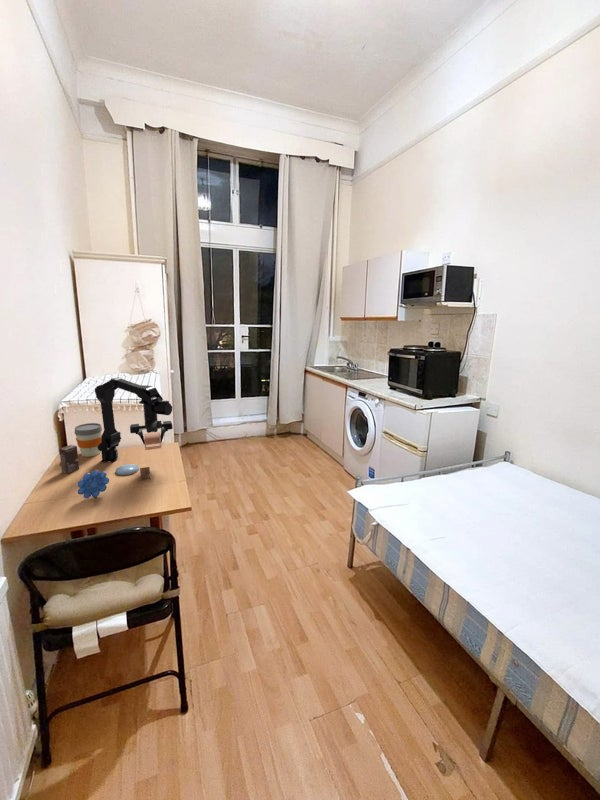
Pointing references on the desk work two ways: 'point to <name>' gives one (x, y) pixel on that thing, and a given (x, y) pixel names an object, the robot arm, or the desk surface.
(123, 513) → the desk surface
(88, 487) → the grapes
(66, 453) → the box
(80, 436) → the reusable coffee cup
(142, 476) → the block
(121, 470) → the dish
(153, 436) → the container
